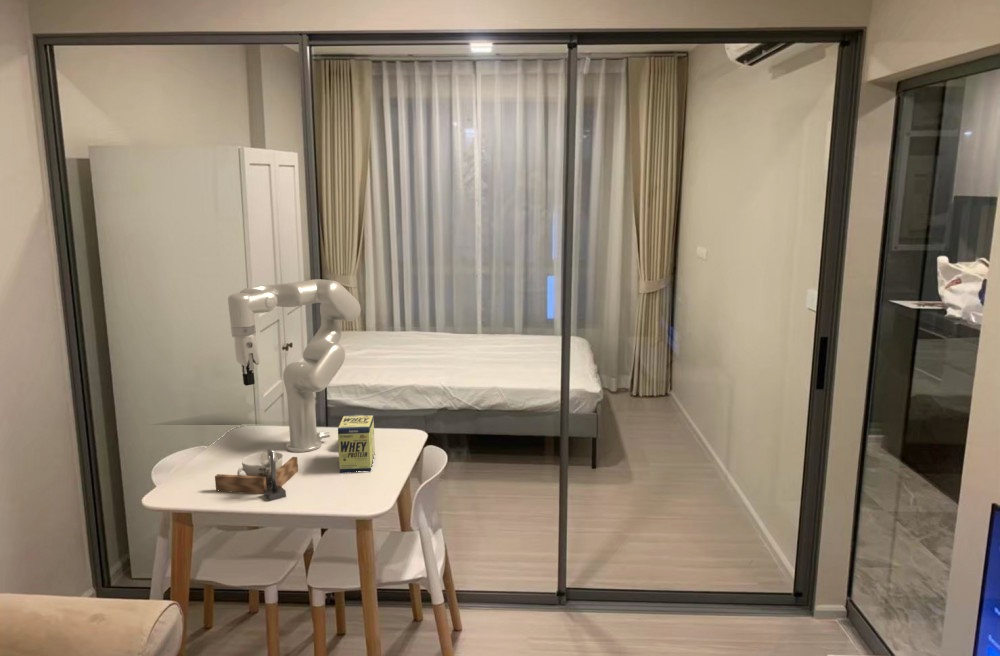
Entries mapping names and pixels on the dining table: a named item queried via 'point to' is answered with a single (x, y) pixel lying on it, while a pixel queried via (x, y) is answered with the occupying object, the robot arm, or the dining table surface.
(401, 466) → the dining table surface
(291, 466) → the v block
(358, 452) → the protein box
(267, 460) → the dial stand
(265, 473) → the teacup
